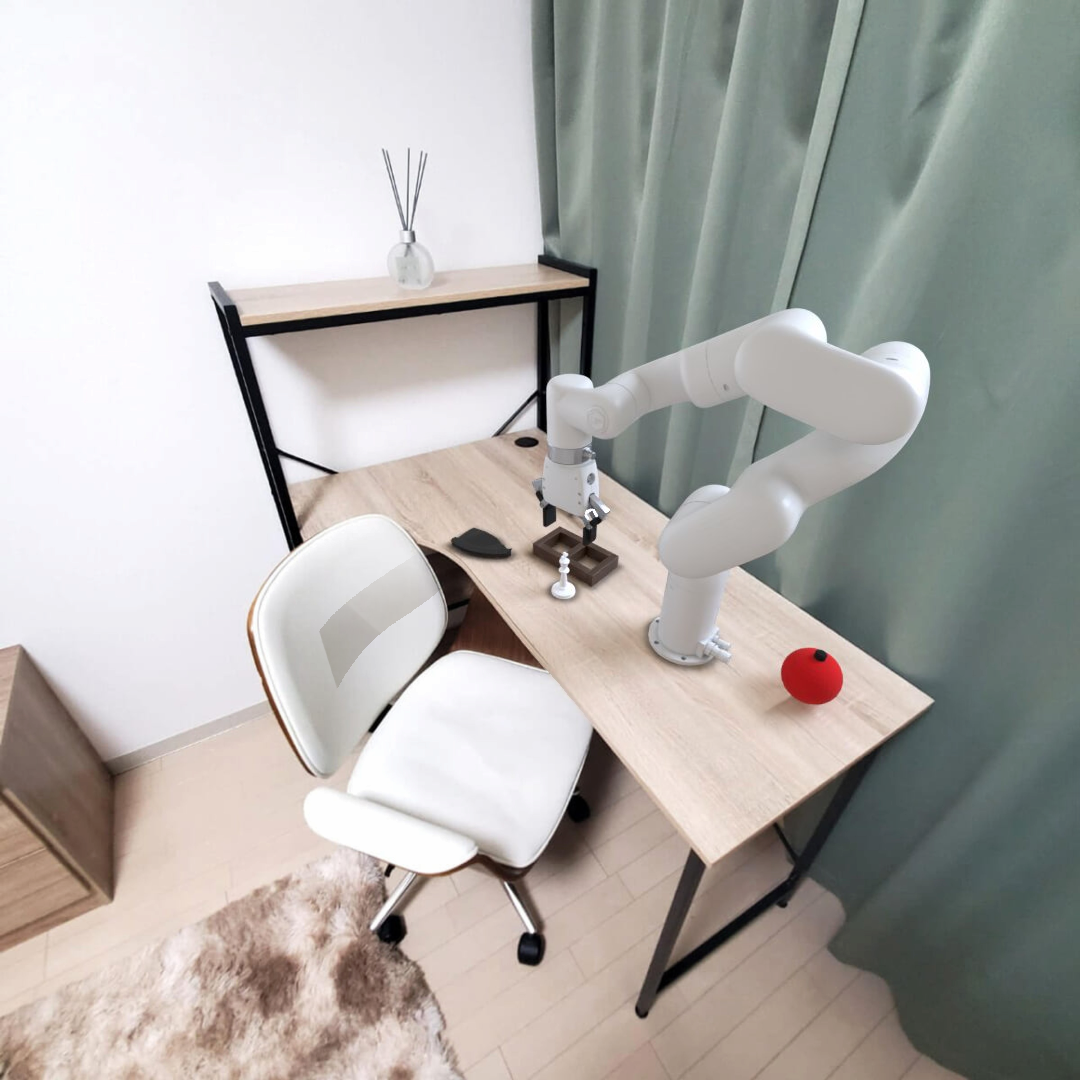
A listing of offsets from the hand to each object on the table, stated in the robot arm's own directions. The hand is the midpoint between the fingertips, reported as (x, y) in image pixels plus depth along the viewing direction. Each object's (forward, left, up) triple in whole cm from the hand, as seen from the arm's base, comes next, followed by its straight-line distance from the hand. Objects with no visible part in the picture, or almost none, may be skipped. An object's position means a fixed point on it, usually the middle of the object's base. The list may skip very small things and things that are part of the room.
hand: (568, 533), depth 100 cm
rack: (+6, -9, -15) cm, 19 cm away
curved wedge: (+25, +2, -15) cm, 29 cm away
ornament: (-45, -7, -15) cm, 48 cm away
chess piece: (+1, 0, -15) cm, 15 cm away
